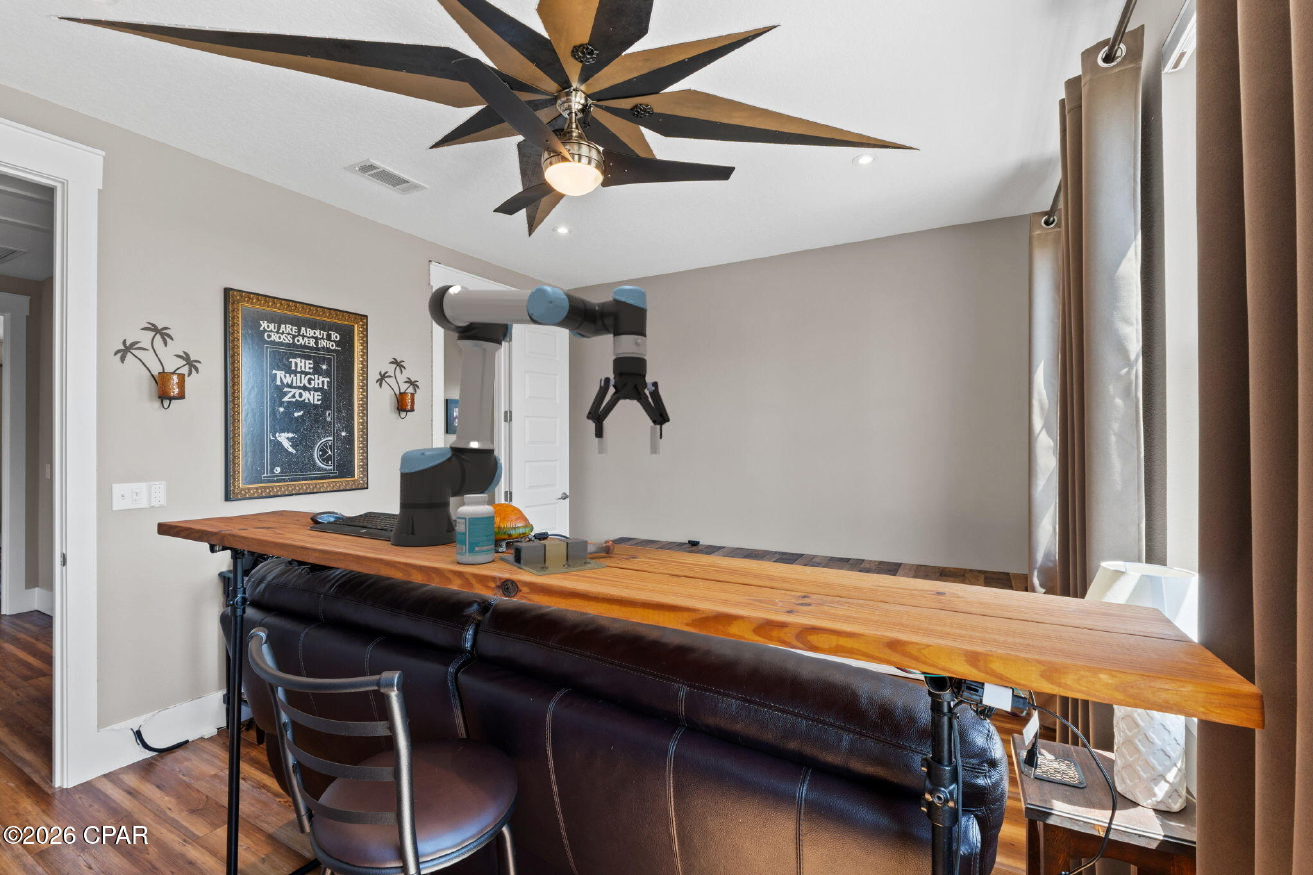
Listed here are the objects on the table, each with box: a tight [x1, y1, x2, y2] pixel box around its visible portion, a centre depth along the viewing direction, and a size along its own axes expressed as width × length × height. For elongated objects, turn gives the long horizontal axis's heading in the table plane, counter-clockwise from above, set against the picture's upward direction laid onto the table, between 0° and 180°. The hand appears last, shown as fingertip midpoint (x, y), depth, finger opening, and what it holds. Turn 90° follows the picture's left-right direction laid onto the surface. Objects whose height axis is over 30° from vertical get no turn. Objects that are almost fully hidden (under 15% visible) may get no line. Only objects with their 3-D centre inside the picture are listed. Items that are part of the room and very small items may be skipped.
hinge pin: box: [588, 539, 616, 556], centre depth 120 cm, size 3×15×3 cm, turn 125°
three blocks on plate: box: [498, 537, 607, 576], centre depth 116 cm, size 20×14×4 cm
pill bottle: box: [455, 494, 496, 565], centre depth 118 cm, size 8×7×14 cm
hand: (629, 454), depth 127 cm, fingers open, 13 cm apart
